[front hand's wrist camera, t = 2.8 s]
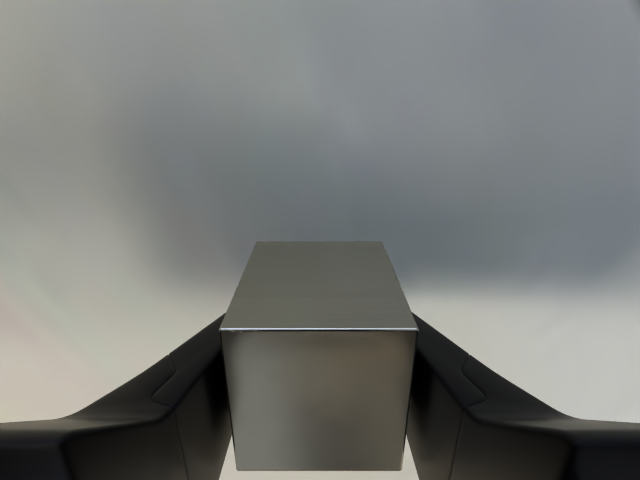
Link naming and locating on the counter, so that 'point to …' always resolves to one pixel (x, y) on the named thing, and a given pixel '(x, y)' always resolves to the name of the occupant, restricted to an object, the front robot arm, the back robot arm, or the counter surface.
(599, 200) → the counter surface
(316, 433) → the block
